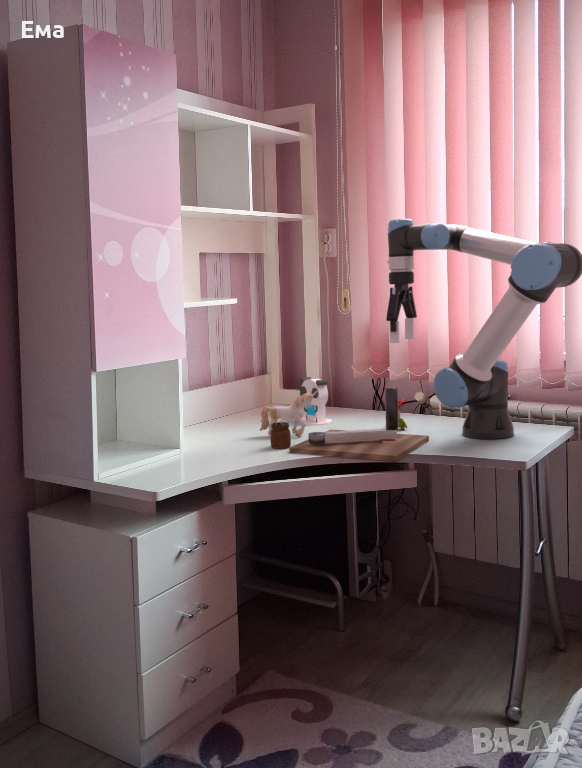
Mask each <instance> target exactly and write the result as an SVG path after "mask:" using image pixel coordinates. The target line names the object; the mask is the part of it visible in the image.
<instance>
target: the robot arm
mask: <svg viewBox="0 0 582 768" xmlns="http://www.w3.org/2000/svg"><path fill="white" fill-rule="evenodd" d="M413 221H414V220H413V219H411V218H398V219H397V218H395V219H391V220H389V221H388V224H387V225H388V228H387V242H388V243H387V244H388V260H387V264H388V270H389V271H390V272H389V273H388V284H390V285H394V286H393V287H390V289H389V299H388V306H387V311H386V320H385V321H386V322H389V343H390V344H399V343H400V320H399V316H400V312H401V308H402V309H403V312H404V315H405V318H404V339H405V340H415V319H417V317H418V315H417V309H416V304H415V298H414V294H413V293H414V291H413V286H411V284H414V283H415V280H414V279H415V273H414V271H413V270H415V266H414V265H415V263H414V262H415V261H414V257H415V256H414V254H415V253H414V251H428V250H430V251H431V250H432V251H435V250H443V251H445V250H450V251H455V252H459V253H464V254H467V255H471V256H476V257H479V258H484V259H487V260H491V261H495V262H499V263H503V264H505V265H506V264H507V265H510V269H511V270H510V275H509V277H508V278H507V282H508V286H509V287H508V288H507V290H506V291H505V293H504V294H503V295H502V297H501V299H500V300H499V302H497V305H496V306H495V308H494V309H493V311H492V312H491V313H490V315H489V316H488V318H487V320H485V322H484V324H483V325H482V327H481V328H480V330H479V331H478V333H477V334H476V335H475V336H474V338H473V340H472V341H471V343H470V345H469V346H468V347H467V349H466V350H465V351H464V352H460V353H457V355H455V357H454V359H453V360H452V362H451V363H450V364H449V366H448V367H444V368H443V367H442V369H440V370H439V371H438V372H437V373H436V374H435V376H434V379H433V389H434V394H435V396H436V399H437V400H438V401H439V402H440V403H441V404H442V405H444V406H445V407H447V408H452V409H454V408H457V409H458V408H463V407H467V412H466V414H465V418H464V420H463V424H462V429H461V430H462V431H461V432H462V433H461V434H462V435H463V436H464V437H468V438H473V439H482V440H499V439H507V438H511V437H513V436H514V435H515V434H514V433H515V428H514V425H513V422H512V418H511V415H510V412H509V408H508V407H509V403H508V402H509V374H510V373H509V369H508V367H509V366H508V363H507V361H506V360H504V359H499V358H500V357H501V356H502V354H503V353H504V352H505V350H506V349H507V347H508V346H509V344H510V343H511V341H513V339H514V338H515V336H516V334H517V333H518V332H519V330H520V329H521V328H522V326H523V325H524V323H525V322H526V320H527V319H528V318H529V316H530V315H531V314H532V312H533V311H534V309H535V308H536V307H537V305H540V304H546V302H547V301H548V299H549V298H550V297H551V296H552V295H553V293H554V292H555V290H556V289H558V288H565V287H568V286H571V285H573V284H574V283H576V282H577V281H578V280H579V279H580V278H581V276H582V253H581V251H580V250H579V249H578V248H577V247H576V246H573V245H572V244H569V243H565V242H564V243H563V242H562V243H555V242H552V241H551V242H550V241H544V242H533V241H529V240H525V239H521V238H517V237H511V236H509V235H508V236H507V235H503V234H499V233H494V232H490V231H485V230H482V229H476V228H472V227H469V226H467V225H465V224H460V223H455V224H451V223H450V224H446V223H445V224H444V223H442V222H430V223H421V224H414V222H413ZM409 285H410V286H409Z"/></svg>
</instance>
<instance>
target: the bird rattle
mask: <svg viewBox="0 0 582 768" xmlns="http://www.w3.org/2000/svg"><path fill="white" fill-rule="evenodd" d="M405 402H406V399H404V398H400V399H399V400H398V428H400V429H401V430H404V429H408V426H407V423H406V421H405V420H404V419H403V418H402V417H401V413H400V410H401V409H402V408H403V407H402V404H403V403H405Z"/></svg>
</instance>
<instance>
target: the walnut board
mask: <svg viewBox="0 0 582 768" xmlns="http://www.w3.org/2000/svg"><path fill="white" fill-rule="evenodd" d="M335 431H348V430H346V429H345V430H344V429H329V430H326V431H325V432H335ZM427 441H428V442H430V436H429V435H422V434H409V433H408V434H407V433H397V438H396V439H380V440H363V441H347V442H331V443H323V444H310V443H309V439H305V440H303V441H301V442H299V443H297V444H294V445H291V446H290V447H289V448H288V453H289V454H298V455H299V454H300V455H314V456H323V457H337V458H338V457H339V458H347V459H348V458H350V459H365V460H377V461H389V462H398V461H399V460H401V459H402V458H404V457H405V456H407V455H409V454H410V453H412V452H414V451H415V450H417V449H418V448H420V447H422V446H424V443H425V444H426V443H428V442H427Z"/></svg>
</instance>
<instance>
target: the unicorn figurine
mask: <svg viewBox="0 0 582 768" xmlns="http://www.w3.org/2000/svg"><path fill="white" fill-rule="evenodd" d="M317 392H318V391H316V392H315V393H313V394H312V395H310V394H309V393H306V394H303V395H301V396H300V395H299V396H298V397H297V398H296V399H295V400H294V401H292V404H291V405H288V406H285V405H284V406H282V405H274V406H271V407H270V406H268V405H265V407H263V409H262V410H261V413H260V415H261V419H260V422H261V426H260V428H259V431H265V430H267V429H268V432H267V435H268V436H269V437H270V433H271V430H272V428H271V425H272V423H275V419H273V416H272V411H271V408H272V410H273V408H274V411H275V409H276V413H277V417H278V418H277V419H276V421H277V422H278V420H282V417H283V421H294V424H293V427H292V429H291V432H292V435H295V436H298V438H300V437H301V436H302V435H303V434H304V430H305V427H306V425H305V423H304V422H303V419H302V418H303V417H304V413H305V411H304V407H305V404H307V407H308V408H310V407H311V406H312V405H311V401H312V399H313V396H314V395H315V394H316V393H317ZM283 409H284V410H285V415H284V410H283ZM286 410H287V411H286ZM280 412H281V413H282V415H281V413H280ZM273 415H274V412H273ZM275 415H276V414H275ZM285 416H286V418H287V419H286V418H285ZM269 418H270V419H269ZM298 424H299V425H301V427H299V428H298ZM297 428H298V429H297Z"/></svg>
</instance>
